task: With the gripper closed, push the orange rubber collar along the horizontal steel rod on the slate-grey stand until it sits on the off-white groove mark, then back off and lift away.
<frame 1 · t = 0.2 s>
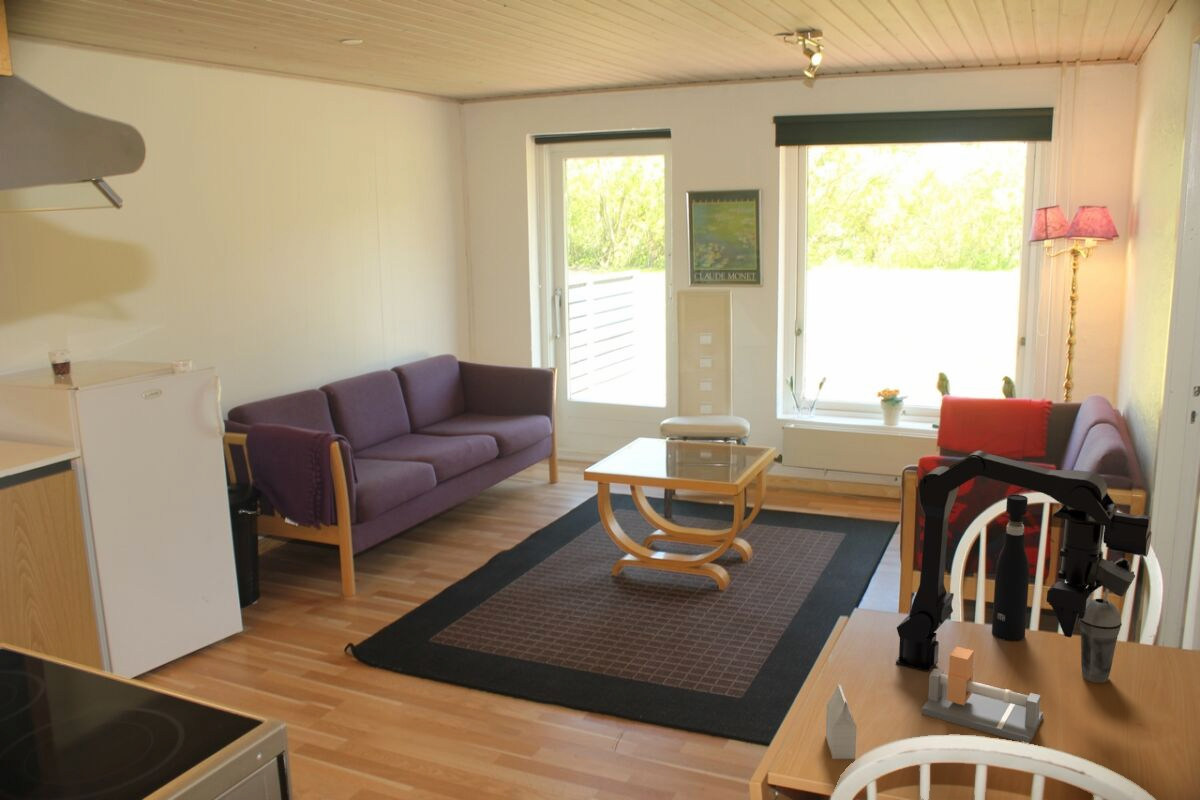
hand: (1074, 627, 174), 14 cm above the table, fingers open, 9 cm apart
black water bottle: (1008, 635, 204), on the table
beverage cup: (1094, 677, 185), on the table
collar: (960, 675, 173), point 7 cm above the table, slide at -4.0 cm
rail stand: (981, 716, 173), on the table
grey gable top carton: (840, 748, 164), on the table
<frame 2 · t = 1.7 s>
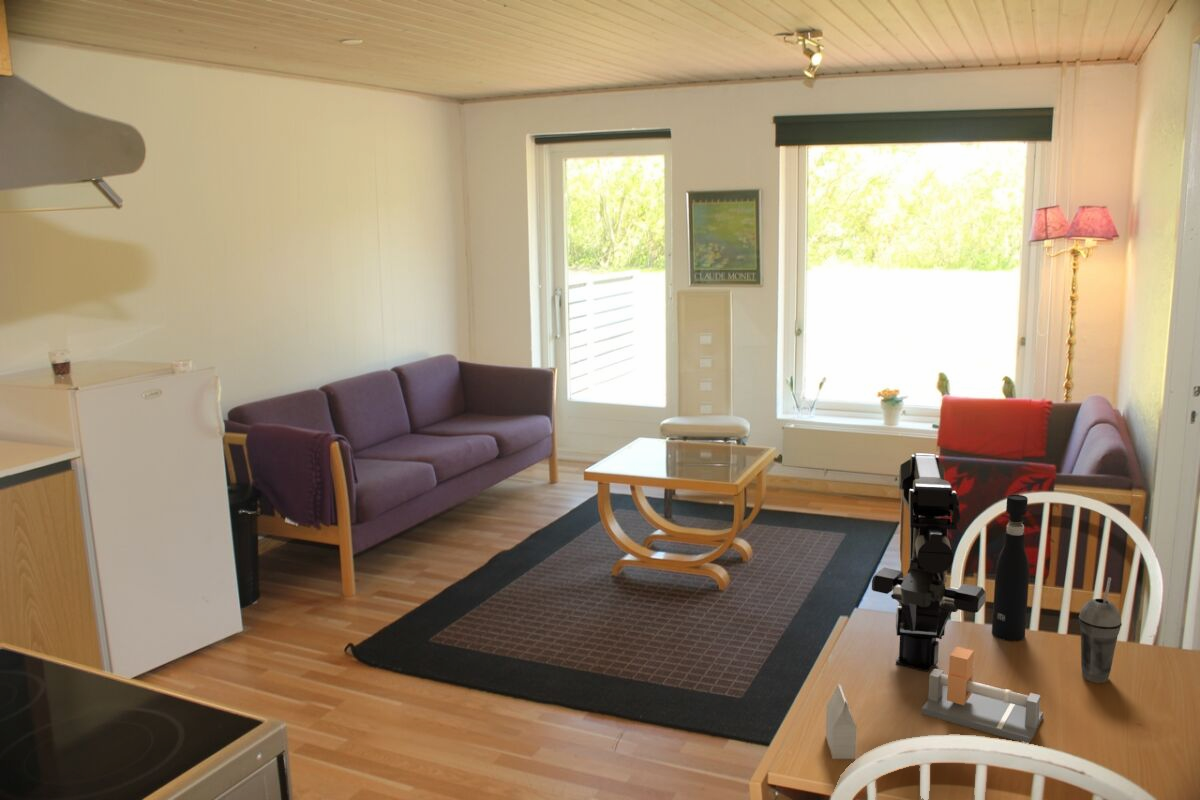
hand: (925, 633, 176), 13 cm above the table, fingers open, 4 cm apart
nothing on the table moved.
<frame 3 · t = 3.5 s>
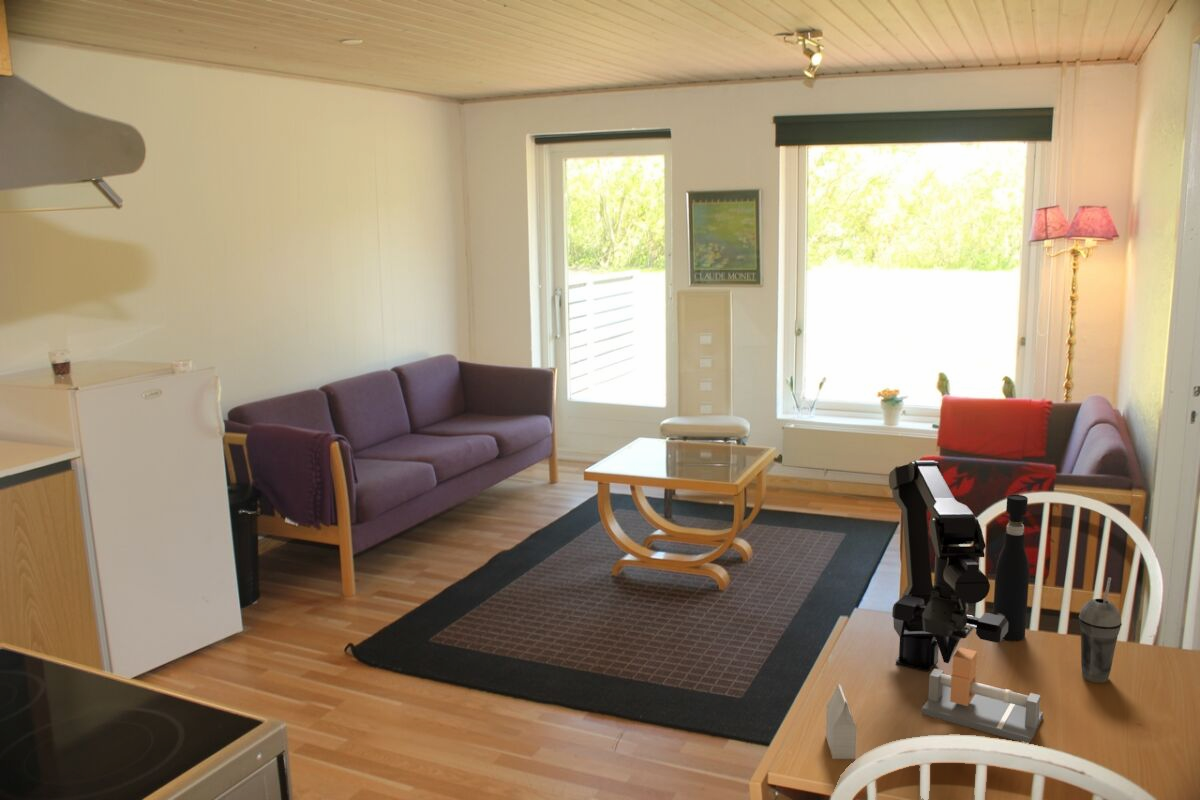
hand: (946, 662, 174), 9 cm above the table, fingers closed
collar: (964, 675, 173), point 7 cm above the table, slide at -3.4 cm, touching gripper
everything else where it was.
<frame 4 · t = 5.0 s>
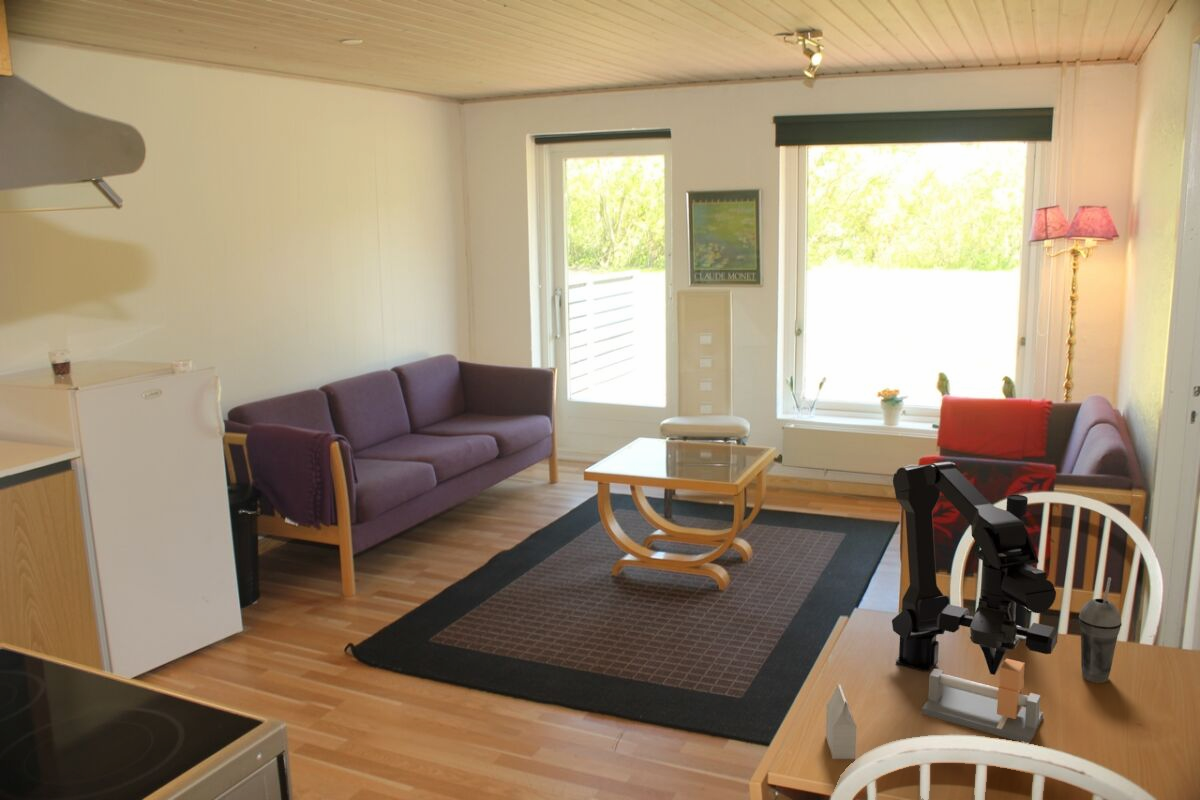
hand: (993, 673, 170), 9 cm above the table, fingers closed
collar: (1011, 687, 169), point 7 cm above the table, slide at 4.5 cm, touching gripper
everything else where it was.
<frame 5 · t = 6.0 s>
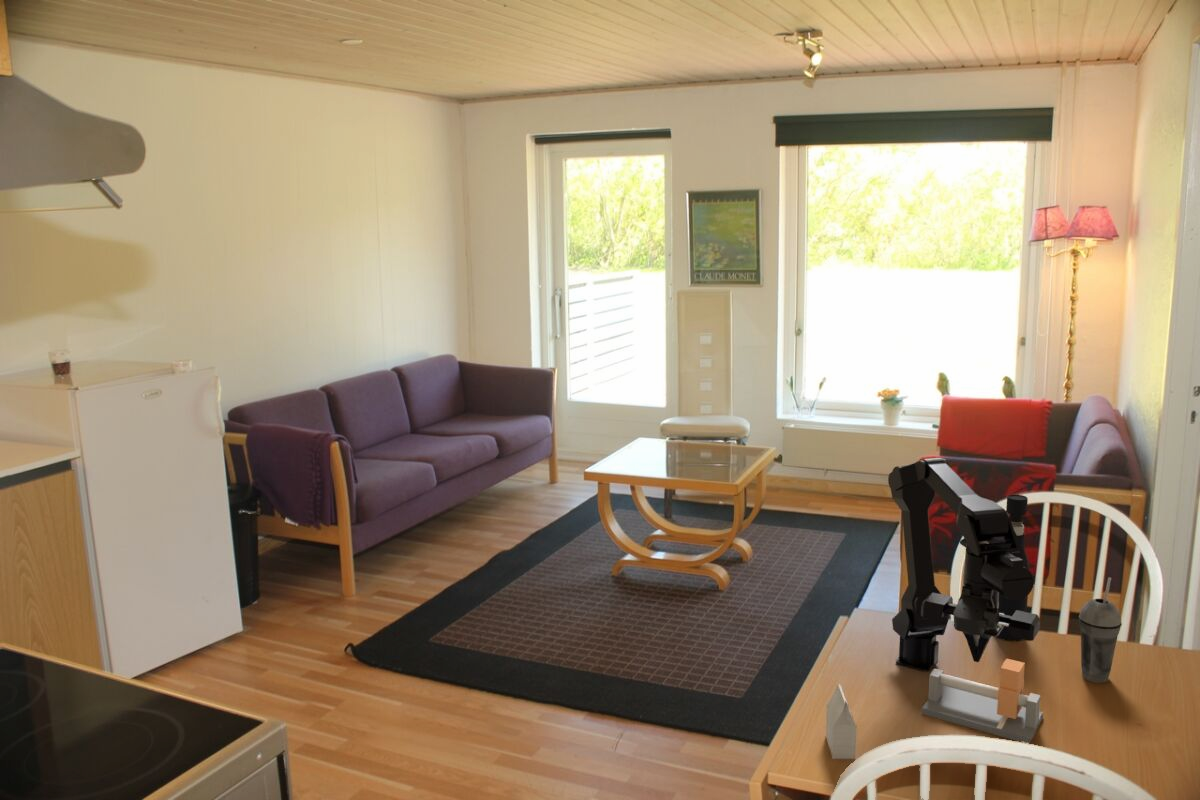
hand: (976, 661, 171), 10 cm above the table, fingers closed
collar: (1011, 687, 169), point 7 cm above the table, slide at 4.5 cm
everything else where it was.
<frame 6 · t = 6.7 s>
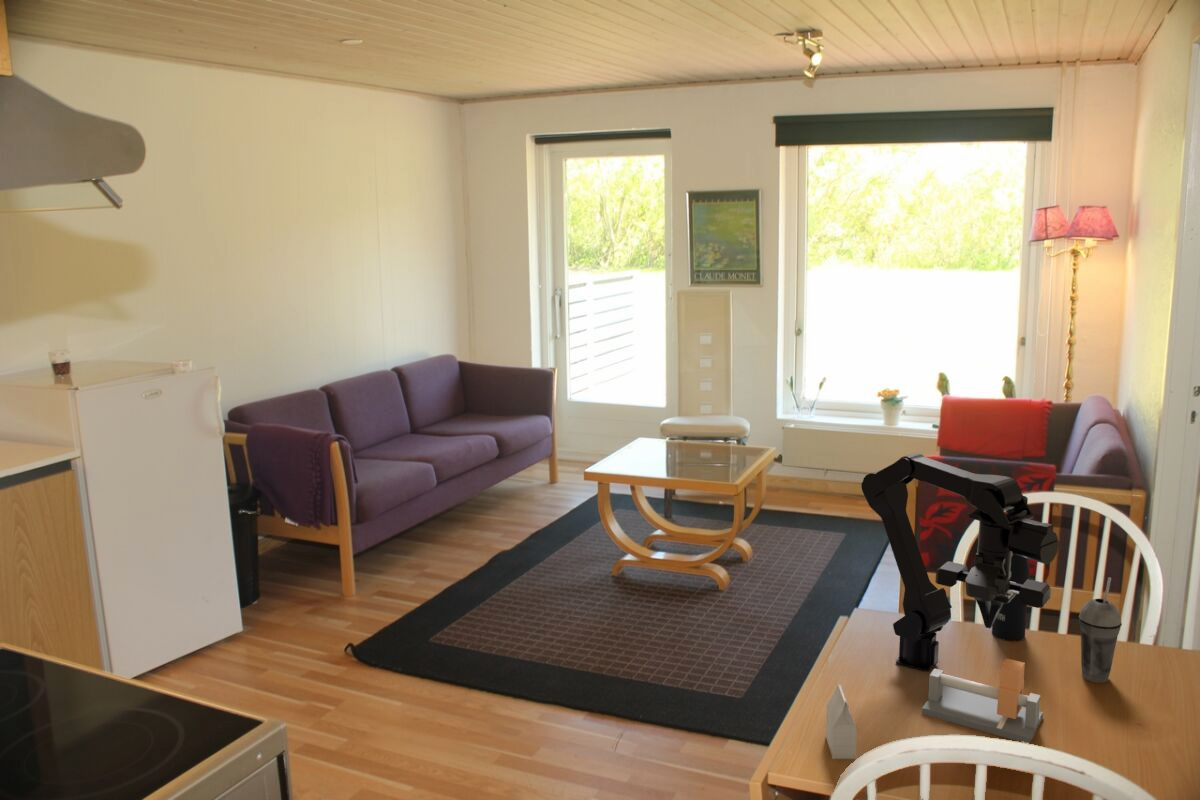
hand: (988, 627, 178), 13 cm above the table, fingers closed
nothing on the table moved.
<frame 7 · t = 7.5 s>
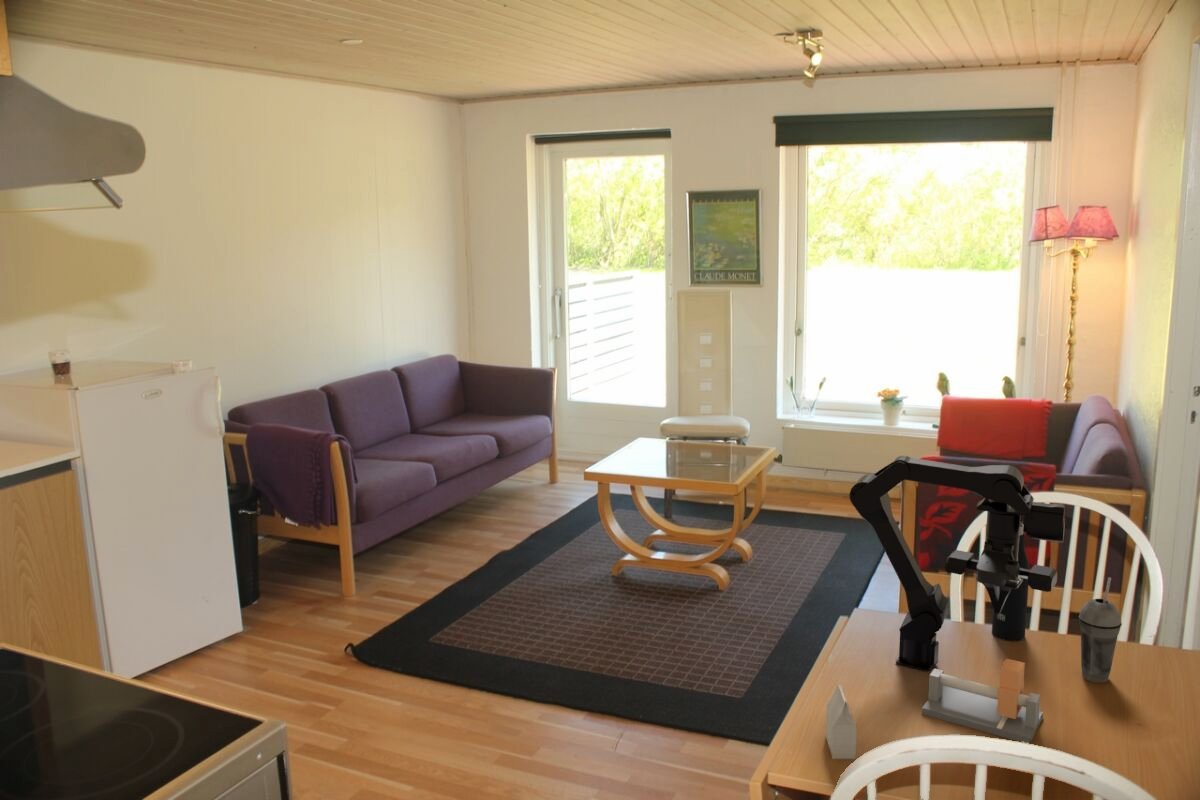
hand: (997, 612, 184), 13 cm above the table, fingers closed
nothing on the table moved.
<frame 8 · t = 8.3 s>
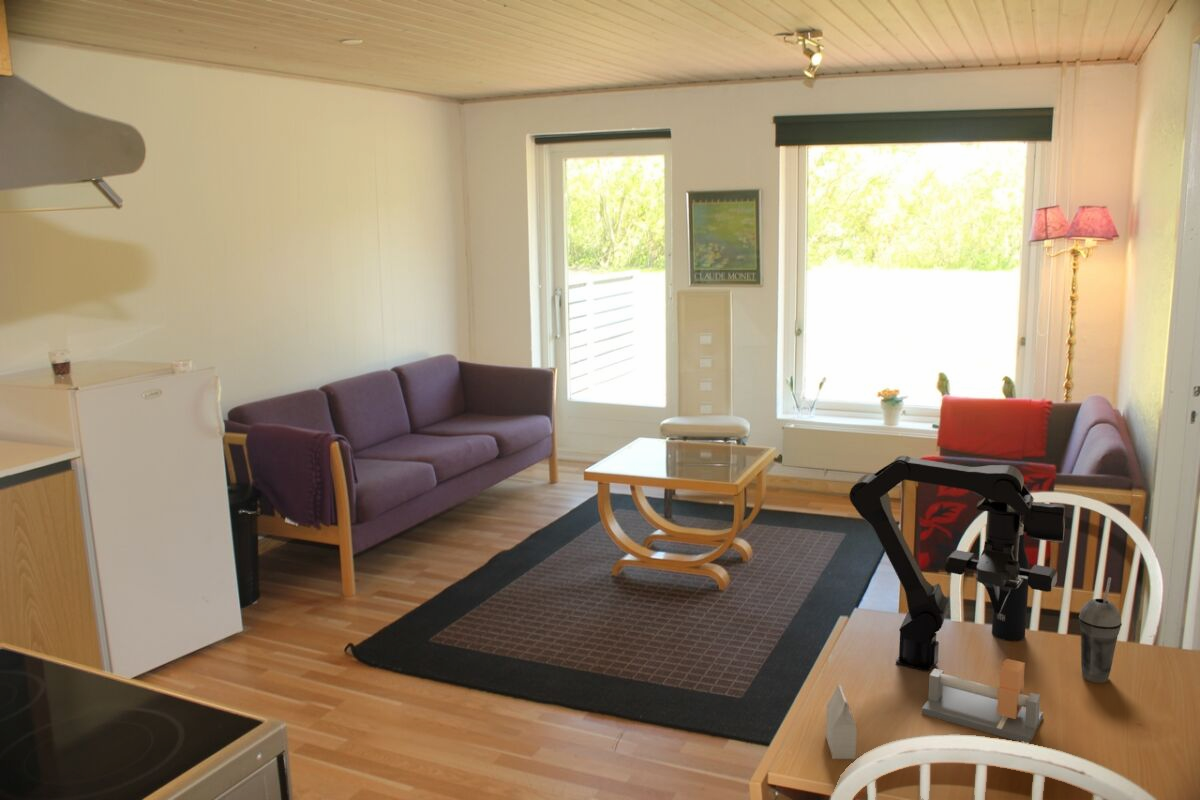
hand: (997, 612, 184), 13 cm above the table, fingers closed
nothing on the table moved.
at the end: collar slide at 4.5 cm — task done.
